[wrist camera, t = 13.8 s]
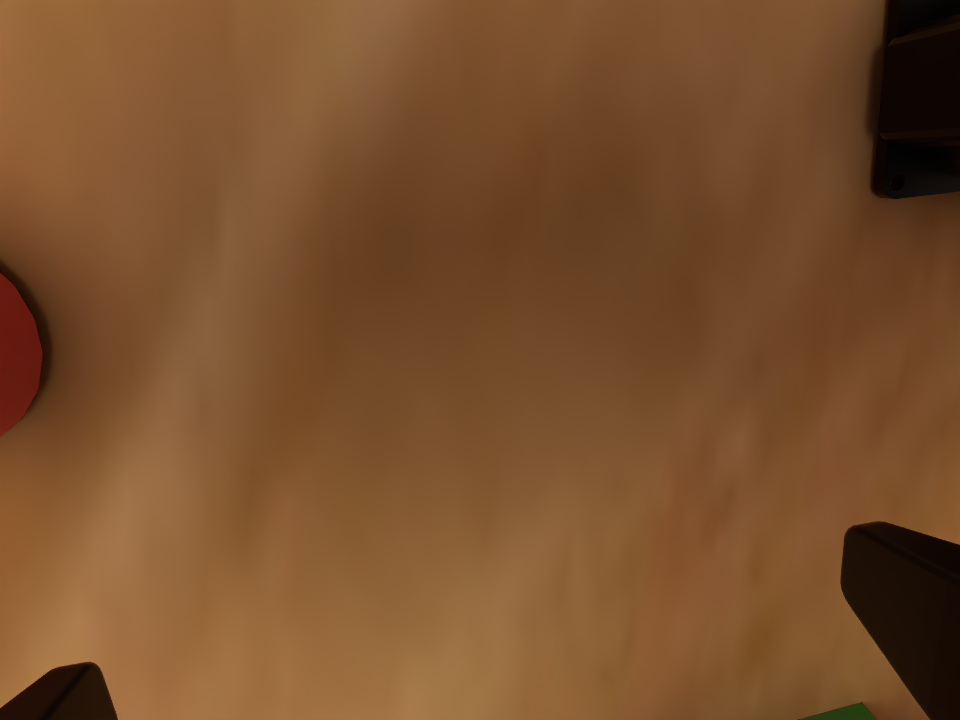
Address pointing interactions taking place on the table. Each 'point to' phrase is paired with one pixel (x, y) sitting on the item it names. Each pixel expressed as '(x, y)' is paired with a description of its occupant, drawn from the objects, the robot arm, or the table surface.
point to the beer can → (17, 356)
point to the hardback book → (845, 714)
